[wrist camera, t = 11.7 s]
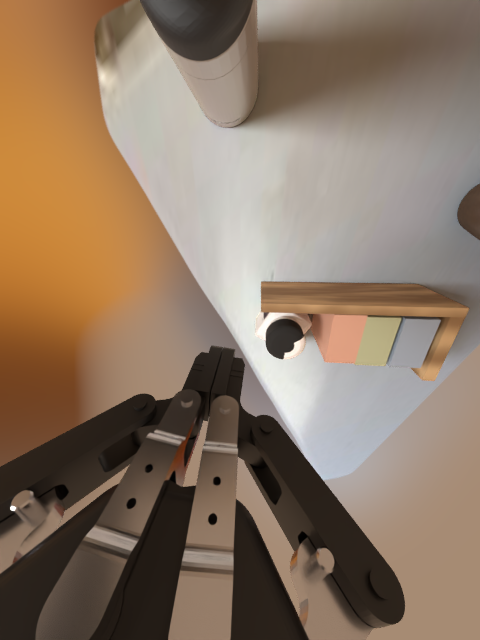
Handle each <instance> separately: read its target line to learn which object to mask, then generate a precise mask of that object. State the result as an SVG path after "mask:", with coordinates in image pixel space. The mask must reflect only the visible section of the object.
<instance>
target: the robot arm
mask: <svg viewBox="0 0 480 640" xmlns="http://www.w3.org/2000/svg"><path fill="white" fill-rule="evenodd" d="M140 2H141V4H142V6H143V8H144V10H145V12H146V14H147V16H148V18H149V19H150V21H151V23H152V25H153V26H154V28H155V30H156V31H157V33H158V35H159V37H160V38H161V40H162V42H163V44H164V45H165V47H166V49H167V51H168V52H169V54H170V56H171V57H172V59H173V61H174V62H175V64H176V66H177V68H178V69H179V71H180V73H181V74H182V76H183V78H184V80H185V81H186V83H187V85H188V87H189V88H190V90H191V92H192V93H193V95H194V97H195V99H196V100H197V102H198V104H199V106H200V107H201V109H202V111H203V112H204V114H205V116H206V117H207V118H208V119H209V120H210V121H211V122H213V123H214V124H216V125H218V126H221V127H227V128H228V127H234V126H236V125H238V124H240V123H242V122H243V121H244V120H245V119H246V118H247V117H248V116H249V114H250V113H251V111H252V109H253V107H254V105H255V102H256V99H257V94H258V28H257V0H140ZM234 356H235V349H231V348H226V347H224V348H223V347H219V346H211V348H210V351H209V353H204V352H201V353H200V354H199V355H198V356H197V357H196V358H195V361H194V363H193V366H192V368H191V370H190V372H189V375H188V377H187V380H186V382H185V384H184V387H183V389H182V391H180V392H178V393H177V394H176V395H175V396H174V397H173V398H170V399H166V400H157V401H155V399H154V397H153V396H151V395H149V394H138V395H136V396H133V397H132V398H130V399H128V400H126V401H124V402H122V403H120V404H119V405H116V406H115V407H113V408H111V409H109V410H107V411H105V412H103V413H101V414H99V415H98V416H96V417H94V418H92V419H90V420H88V421H86V422H84V423H83V424H80V425H79V426H77V427H75V428H73V429H71V430H69V431H67V432H66V433H63V434H62V435H60V436H58V437H56V438H54V439H52V440H50V441H48V442H47V443H44V444H43V445H41V446H39V447H37V448H35V449H33V450H31V451H29V452H28V453H26V454H24V455H22V456H20V457H18V458H16V459H14V460H12V461H10V462H8V463H7V464H5V465H3V466H1V467H0V640H366V638H367V637H368V635H369V633H370V632H371V630H373V629H377V628H381V627H385V626H389V625H393V624H396V623H398V622H399V621H400V620H401V619H402V617H403V615H404V611H405V601H404V595H403V591H402V588H401V585H400V583H399V581H398V579H397V577H396V575H395V573H394V572H393V570H392V569H391V567H390V566H389V565H388V564H387V562H386V561H385V560H384V558H383V557H382V556H381V555H380V553H379V552H378V551H377V549H376V548H375V547H374V546H373V544H372V543H371V542H370V540H369V539H368V538H367V537H366V535H365V534H364V533H363V531H362V530H361V529H360V528H359V526H358V525H357V524H356V522H355V521H354V520H353V519H352V517H351V516H350V515H349V513H348V512H347V511H346V510H345V508H344V507H343V506H342V504H341V503H340V502H339V501H338V499H337V498H336V497H335V495H334V494H333V493H332V491H331V490H330V489H329V488H328V486H327V485H326V484H325V482H324V481H323V480H322V479H321V477H320V476H319V475H318V473H317V472H316V471H315V470H314V468H313V467H312V466H311V464H310V463H309V462H308V461H307V459H306V458H305V457H304V455H303V454H302V453H301V452H300V450H299V449H298V448H297V446H296V445H295V444H294V442H293V441H292V440H291V439H290V437H289V436H288V435H287V433H286V432H285V431H284V430H283V428H282V427H281V426H280V424H279V423H278V422H277V421H276V420H275V419H274V418H272V417H271V416H268V415H260V416H257V417H255V416H253V415H251V414H249V413H247V412H246V411H245V410H244V409H243V408H242V406H241V403H240V396H241V389H242V382H243V375H244V367H245V364H244V362H243V360H242V359H241V358H235V357H234ZM208 419H209V422H208V428H207V433H206V439H205V444H204V446H203V451H202V456H201V461H200V467H199V472H198V478H197V484H196V486H189V487H183V484H184V479H185V474H186V471H187V468H188V465H189V462H190V459H191V456H192V454H193V451H194V448H195V445H196V443H197V440H198V437H199V434H200V430H201V427H202V423H203V420H204V421H208ZM238 457H239V458H241V459H243V460H244V461H245V464H246V466H247V468H248V470H249V472H250V473H251V475H252V477H253V479H254V480H255V482H256V484H257V486H258V487H259V489H260V491H261V493H262V495H263V496H264V498H265V500H266V502H267V503H268V505H269V507H270V509H271V510H272V512H273V514H274V516H275V518H276V519H277V521H278V523H279V525H280V527H281V528H282V530H283V532H284V534H285V535H286V537H287V539H288V541H289V543H290V544H291V546H292V548H293V550H294V551H295V552H294V554H293V555H292V558H291V562H290V573H291V578H292V582H293V585H294V587H295V590H296V592H297V595H298V599H299V608H300V615H299V617H298V614H297V612H296V610H295V608H294V605H293V603H292V601H291V599H290V597H289V595H288V592H287V591H286V588H285V586H284V584H283V582H282V580H281V577H280V575H279V573H278V571H277V569H276V567H275V565H274V562H273V560H272V558H271V556H270V554H269V551H268V549H267V547H266V545H265V543H264V541H263V539H262V536H261V534H260V532H259V530H258V528H257V525H256V523H255V521H254V520H253V517H252V516H251V514H250V513H249V511H248V510H247V509H246V507H245V506H244V505H243V504H242V503H241V502H239V501H238V500H237V499H236V484H237V463H238ZM128 465H130V466H129V467H128V469H127V471H126V473H125V474H124V476H123V478H122V479H121V481H120V483H119V484H117V485H115V486H113V487H112V488H110V489H108V490H107V491H106V492H104V493H103V494H102V495H100V496H99V497H98V498H97V499H95V500H94V501H93V502H91V503H90V504H89V505H88V506H86V507H85V508H84V509H82V510H81V511H80V512H79V513H77V514H76V515H75V516H73V517H72V518H71V519H70V520H68V521H67V522H66V523H65V524H63V525H62V526H61V527H59V528H58V529H57V527H58V525H59V524H60V522H61V520H62V518H63V515H64V512H65V510H67V509H68V508H70V507H71V506H72V505H74V504H75V503H76V502H78V501H79V500H81V499H82V498H84V497H85V496H86V495H88V494H89V493H90V492H92V491H93V490H95V489H96V488H98V487H99V486H100V485H102V484H103V483H104V482H106V481H107V480H108V479H110V478H111V477H113V476H114V475H115V474H117V473H118V472H120V471H121V470H123V469H124V468H125V467H127V466H128ZM56 529H57V530H56ZM55 530H56V531H55Z"/></svg>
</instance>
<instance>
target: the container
mask: <svg viewBox="0 0 480 640" xmlns="http://www.w3.org/2000/svg"><path fill="white" fill-rule="evenodd" d="M311 326H312V323H311V321H310V318H309V316H308V314H307V313H269V312H261V311H260V313H259V314H258V315H257V317H256V325H255V335H256V336H257V337H259V338H261V339H263V340H264V341H266V347H267V350H268V351H269V353H270V354H271V355H273V356H274V357H276V358H279V359H291V358H294V357H296V356H298V355H299V354H300V353H301V352H302V351H303V349H304V347H305V343H306V340H305V337H304V334H305V333H306V332H307V331H308V329H309V328H310V327H311Z"/></svg>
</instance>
